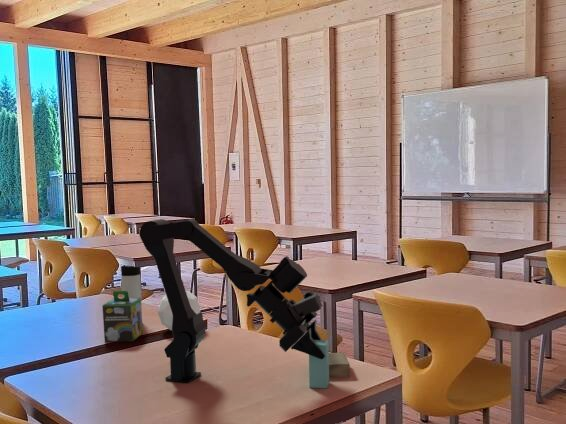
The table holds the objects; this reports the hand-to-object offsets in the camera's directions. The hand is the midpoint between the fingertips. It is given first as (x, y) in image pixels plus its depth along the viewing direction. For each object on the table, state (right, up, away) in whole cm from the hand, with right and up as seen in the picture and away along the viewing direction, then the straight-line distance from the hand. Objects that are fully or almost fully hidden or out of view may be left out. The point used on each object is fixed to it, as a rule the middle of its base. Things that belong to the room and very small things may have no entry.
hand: (324, 355), depth 136 cm
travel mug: (-60, -5, +62) cm, 87 cm away
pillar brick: (-1, -7, +1) cm, 7 cm away
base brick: (+2, -7, +10) cm, 13 cm away
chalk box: (-59, -6, +45) cm, 74 cm away
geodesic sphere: (-43, -5, +52) cm, 68 cm away
